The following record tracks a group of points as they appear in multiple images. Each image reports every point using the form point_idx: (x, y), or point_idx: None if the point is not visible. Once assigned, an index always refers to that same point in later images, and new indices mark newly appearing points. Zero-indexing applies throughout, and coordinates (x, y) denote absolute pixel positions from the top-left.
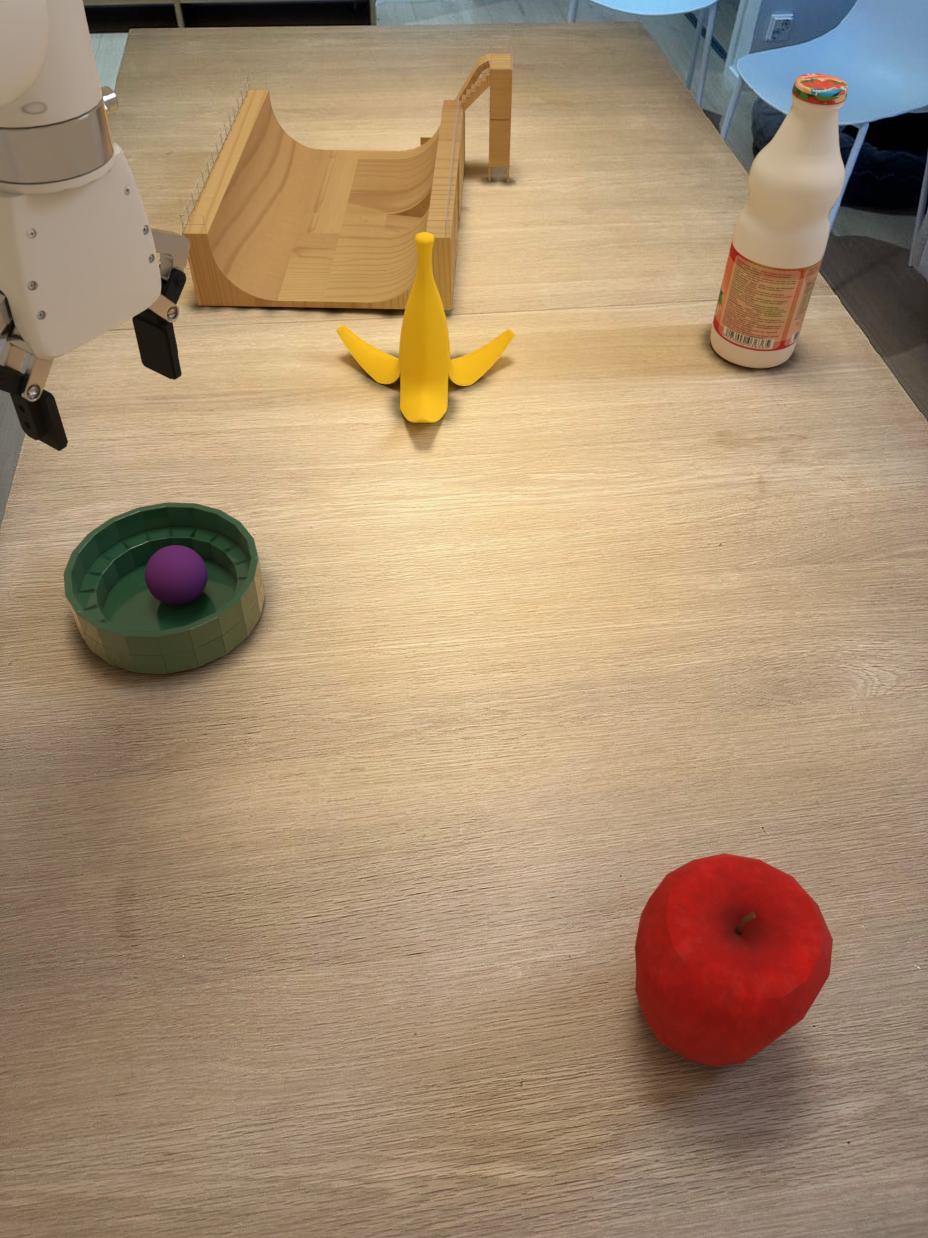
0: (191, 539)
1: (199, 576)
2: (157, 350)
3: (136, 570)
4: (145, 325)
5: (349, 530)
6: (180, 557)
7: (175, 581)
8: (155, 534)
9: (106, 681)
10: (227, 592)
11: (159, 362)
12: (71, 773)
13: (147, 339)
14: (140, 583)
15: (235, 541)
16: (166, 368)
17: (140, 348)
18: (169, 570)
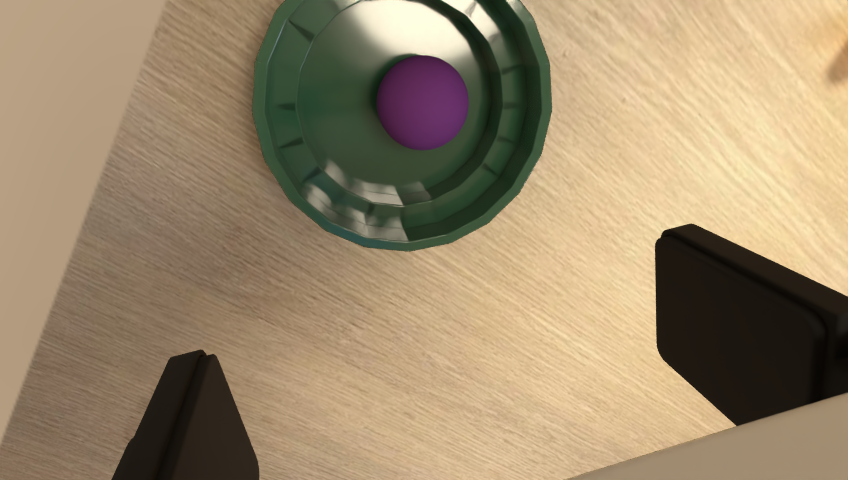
0: (486, 41)
1: (442, 145)
2: (718, 364)
3: (395, 1)
4: (794, 384)
5: (649, 141)
6: (438, 123)
7: (408, 142)
8: None
9: (257, 155)
10: (464, 135)
11: (685, 336)
12: (157, 252)
13: (741, 343)
14: (385, 32)
15: (527, 100)
16: (677, 357)
17: (700, 270)
18: (411, 129)
